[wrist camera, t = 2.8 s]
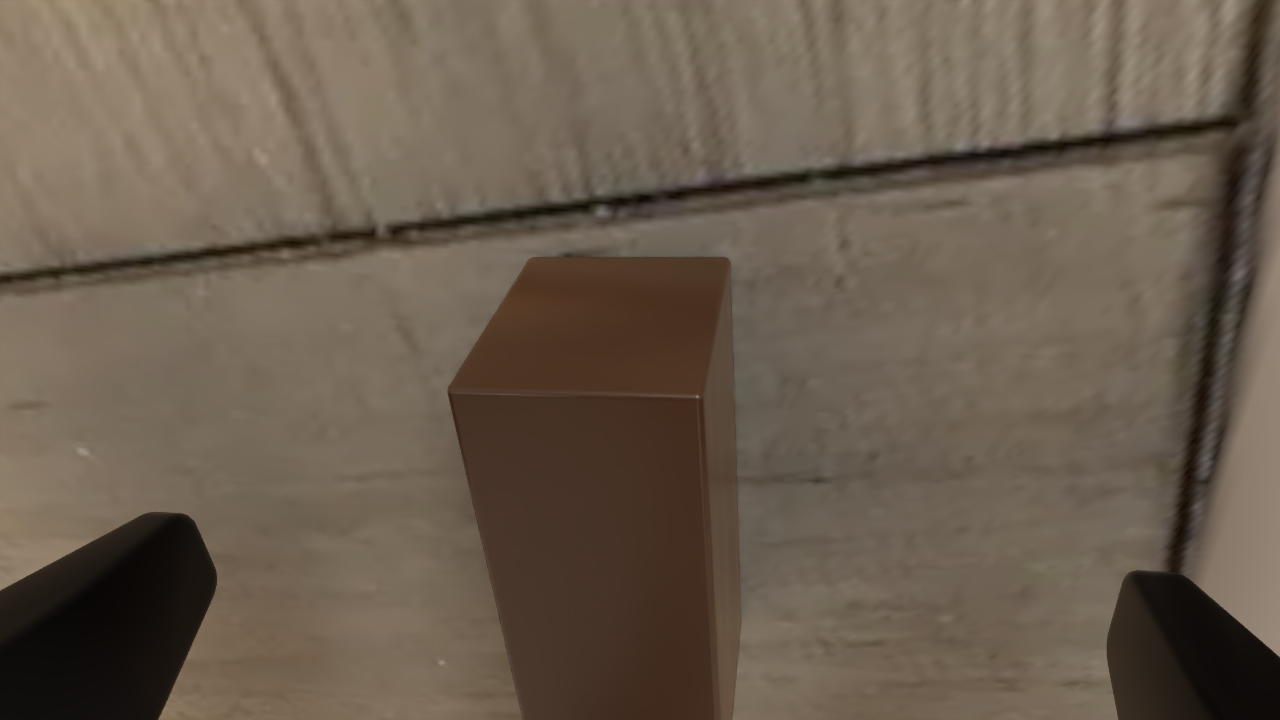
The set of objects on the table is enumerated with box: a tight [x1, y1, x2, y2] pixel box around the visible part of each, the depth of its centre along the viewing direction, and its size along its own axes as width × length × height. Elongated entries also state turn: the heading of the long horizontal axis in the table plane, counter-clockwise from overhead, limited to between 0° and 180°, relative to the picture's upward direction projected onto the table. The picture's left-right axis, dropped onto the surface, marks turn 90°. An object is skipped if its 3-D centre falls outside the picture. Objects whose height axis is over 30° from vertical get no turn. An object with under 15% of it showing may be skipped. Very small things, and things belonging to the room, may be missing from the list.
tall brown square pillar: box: [448, 257, 741, 720], centre depth 9 cm, size 2×5×2 cm, turn 5°
